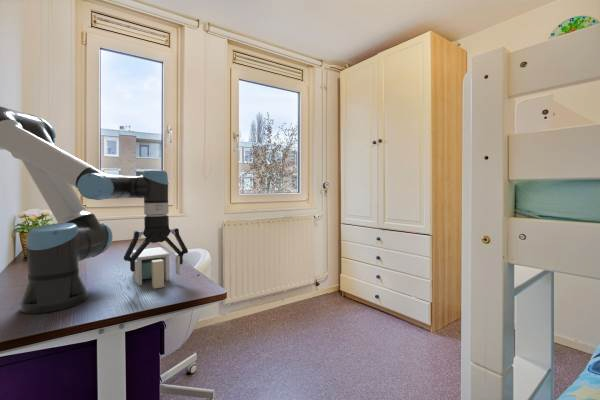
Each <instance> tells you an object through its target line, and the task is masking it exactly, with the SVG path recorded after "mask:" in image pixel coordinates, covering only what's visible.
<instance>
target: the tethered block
mask: <svg viewBox="0 0 600 400" xmlns="http://www.w3.org/2000/svg"><path fill="white" fill-rule="evenodd" d="M147 279H151V287H152V288H153V289H160V288H165V279H164V261H163V260H162V259H159V260H158V259H157V258H154V259H146V260H142V280H147Z"/></svg>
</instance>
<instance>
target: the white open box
mask: <svg viewBox="0 0 600 400" xmlns="http://www.w3.org/2000/svg"><path fill="white" fill-rule="evenodd" d="M136 250H137V249H133V251H132V253H131V256H132V255H133V254H134V253H135V252H136ZM154 258H157V259H158V260H159V259H162V260H163V261H164V281H170V274H171V273H170V253H169V252H168V251H167V250H165V249H164V248H163V247H161V246H160V247H152V248H151V247H150V248H145V249H144V250H143V251H142V253H141V254H140V255H139V256H138V258H137V259H136V260H137V262H138V281H137V282H136V284H137V286H142V285H143V279H142V260H146V259H154ZM132 277H133V278H134V271H133V272H132Z"/></svg>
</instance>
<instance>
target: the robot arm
mask: <svg viewBox="0 0 600 400" xmlns="http://www.w3.org/2000/svg"><path fill="white" fill-rule="evenodd" d="M56 135H57V134H56V132H55V129H54V127H53V126H52V124H50V123H49V122H48V121H46V120H45V119H43V118H42V117H39V116H36V115H34V114H30V113H24V112H21V111H16V110H13V109H11V108H7V107H4V106H0V150H6V151H7V152H9V153H10V154H11V155H12V157H13V158H14V159H18V160H20V161H21V162H22V163H23V164H24V167H25V169H26V170H27V171H28V174H29V175H30V176H31V179H32V180H33V182H34V184H35V186H36V188H37V189H38V191H39V192H40V194H41V196H42V198H43V199H44V201H45V203H46V204H47V206H48V208H49V210H50V211H51V213H52V215H53V217H54V219H55V221H56V222H57V223H52V224H45V225H41V226H37V227H34V228H32V229H30V230H29V231H28V233H27V234H26V243H25V248H26V262H27V284H26V287H25V290H24V293H23V296H22V298H21V301H20V312H21V313H23V314H30V315H31V314H34V315H35V314H36V315H37V314H45V313H53V312H58V311H61V310H64V309H65V310H66V309H69V308H72V307H74V306H77V305H80V304H82V303H83V302H84V301H86V300H87V297H88V295H87V289H86V287H85V284H84V282H83V280H82V278H81V276H80V275H81V274H80V268H79V267H80V263H79V262H81V261H83V260H87V259H90V258H95V257H97V256H98V255H99V256H100V255H101V254H103V253H105V252H107V250H108V249H109V248H110V246H111V245H112V242H113V231H112V230H111V228H110V227H109V225H108V224H106V223H104V222H101V221H98V218H97V216H96V215H95V213H92V212H89V211H87V209H86V207H85V206H84V205H83V203H82V200H81V198H79V196H78V194H77V192H76V190H75V189H74V187H75V188H77V191H78V192H79V194H80V195H81V196H82V197H84V198H85V199H87V200H95V201H103V200H112V199H113V200H114V199H143V210H144V211H143V213H144V215H145V216H144V218H143V220H144V222H143V225H144V229H143V231H141V230H140V231H138V230H134V231H133V237H132V239H131V242H130V244H129V246H128V247H127V249H126V252H125V254H124V256H123V260H124V261H125V262H130V263H129V266H130V267H129V270H130V271H131V272H133V271H134V277H133V280H134V282H135V283H137V281H138V262H137V260H136V259H137V258H138V256H139V255H140V254H141V253H142V251H143V250H144V249H147V246H148V245H149V244H150V243H151V244H156V243H163V242H165V243H166V244H167V245H168V246H169V247H170V248H171V249H172V250H173V251H174V252H175V253H176V254H175V274H176V275H178V276H179V275H181V265H183V263H184V261H183V258H184V257H183V256H184V255H185V254H188V253H189V250H188V248H187V247H186V244H185V242H184V240H183V239H182V237H181V235H180V230H179V228H177V227H174V228H171V229H170V225H169V224H170V223H169V221H170V217H169V215H168V214H169V178H168V177H169V175H168V172H167V171H166V170H163V169H145V170H143V173H142V175H139V176H138V175H137V176H136V175H118V174H109V173H105V172H103V171H102V170H100V169H99V168H98V169H97V168H95V166H92V165H90V164H88V163H87V162H85V161H83V160H81V159H79V158H77V157H76V156H74V155H72V154H70V153H68V152H66V151H65V150H63V149H61V148H59V147H57V146H56V145H55V143H56V140H55V138H57V137H56ZM170 234H172V235H174V238H175V239H176V242H177V243H178V245H179V248H178V246H177V245H176V244H174V242H173V241H172V240H171V239H170V238H169V235H170ZM142 236H144V237H145V239H144V240H143V241H142V243H141V244H140V245H139V247H138V248H137V249H135V248H136V246H137V243H138V240H139V238H141V237H142ZM180 249H181V250H180ZM133 250H136V252H135V253H134V254H133V255H132V251H133Z"/></svg>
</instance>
